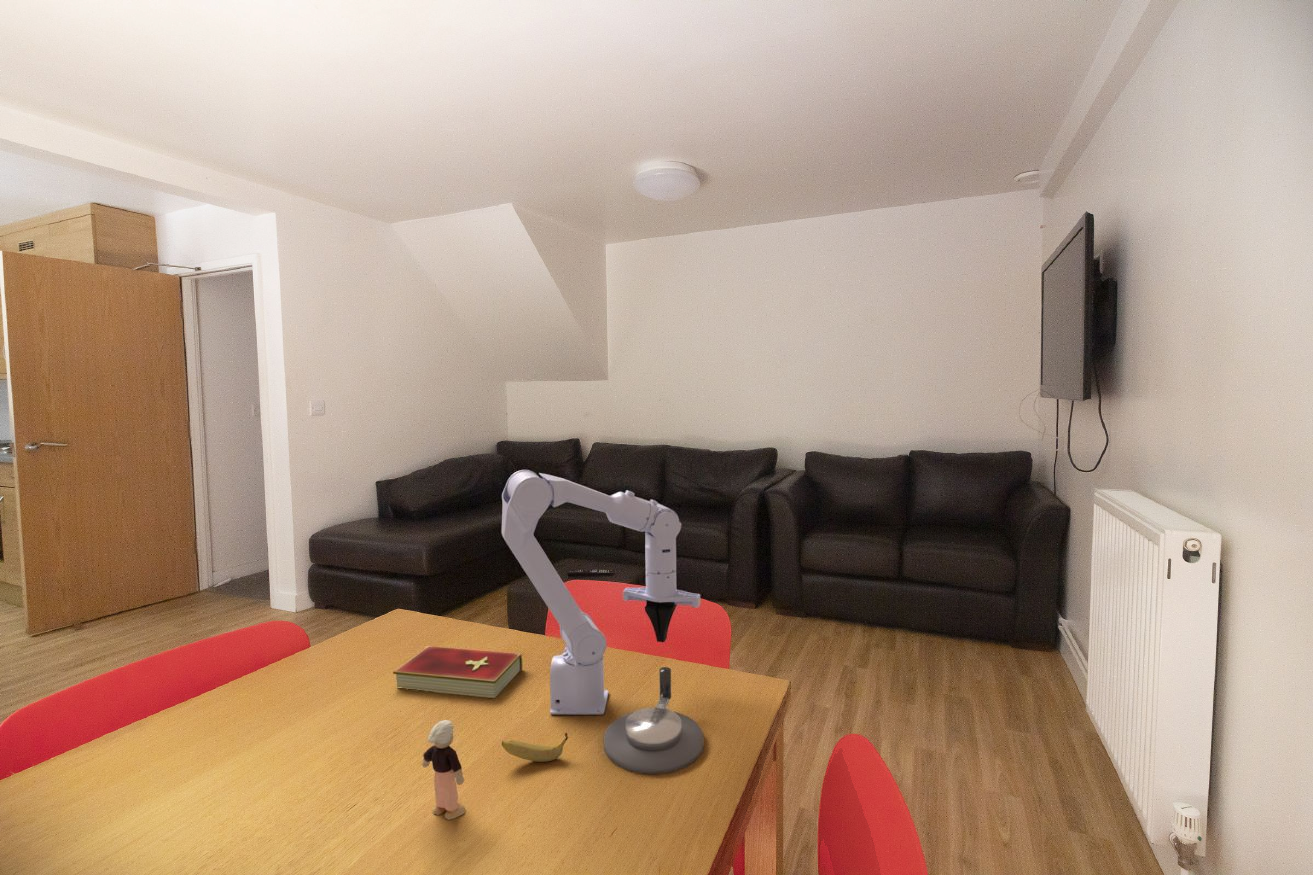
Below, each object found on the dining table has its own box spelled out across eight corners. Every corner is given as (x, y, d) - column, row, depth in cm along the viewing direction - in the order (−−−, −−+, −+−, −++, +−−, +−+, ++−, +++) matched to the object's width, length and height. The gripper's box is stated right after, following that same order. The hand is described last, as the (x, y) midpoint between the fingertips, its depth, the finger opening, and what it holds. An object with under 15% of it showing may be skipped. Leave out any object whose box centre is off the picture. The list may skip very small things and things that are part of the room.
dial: (675, 753, 96) (674, 713, 95) (618, 746, 98) (618, 706, 98) (691, 705, 110) (691, 669, 110) (642, 699, 112) (641, 664, 112)
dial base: (598, 773, 94) (598, 764, 94) (609, 715, 110) (609, 708, 110) (705, 774, 93) (705, 765, 93) (701, 716, 109) (701, 708, 109)
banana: (501, 769, 95) (500, 744, 95) (503, 759, 98) (502, 735, 97) (569, 762, 97) (568, 737, 96) (568, 753, 99) (568, 729, 99)
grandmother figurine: (478, 805, 87) (474, 718, 86) (461, 824, 84) (456, 734, 82) (432, 794, 90) (427, 709, 88) (413, 812, 86) (408, 724, 85)
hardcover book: (429, 663, 132) (428, 643, 132) (522, 671, 128) (521, 651, 127) (394, 691, 120) (392, 670, 120) (495, 701, 116) (494, 679, 116)
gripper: (703, 566, 119) (704, 635, 120) (631, 560, 123) (632, 627, 124) (695, 577, 112) (695, 650, 114) (618, 571, 116) (620, 642, 118)
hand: (661, 639), depth 119 cm, fingers closed
